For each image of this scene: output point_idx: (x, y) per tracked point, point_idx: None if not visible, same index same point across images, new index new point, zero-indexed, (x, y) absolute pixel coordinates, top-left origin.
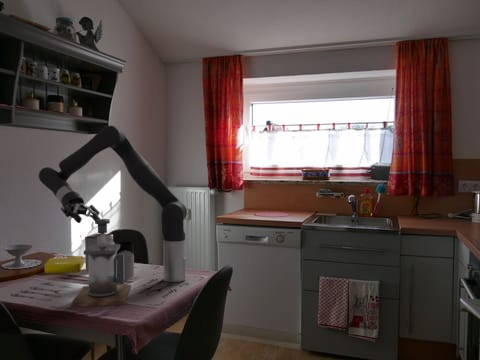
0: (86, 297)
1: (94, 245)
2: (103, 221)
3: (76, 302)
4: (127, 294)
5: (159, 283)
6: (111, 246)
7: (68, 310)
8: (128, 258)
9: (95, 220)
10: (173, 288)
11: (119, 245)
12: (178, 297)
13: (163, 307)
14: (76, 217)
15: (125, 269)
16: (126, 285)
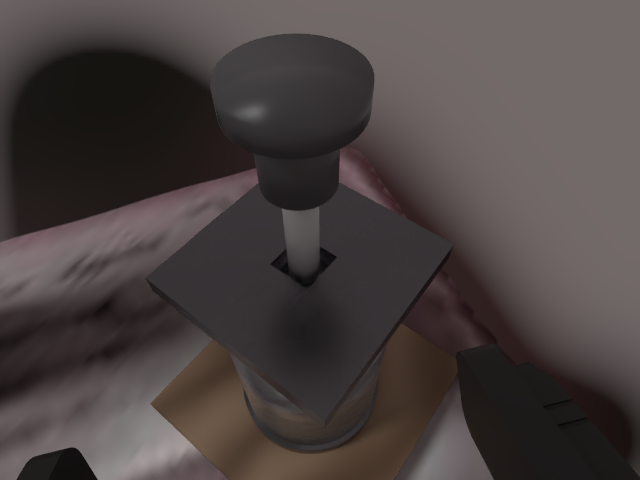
0: (392, 379)
1: (313, 363)
2: (318, 40)
3: (445, 351)
4: None
5: (24, 379)
6: (241, 250)
7: (477, 342)
8: None
9: (368, 85)
10: (59, 285)
11: (171, 259)
12: (135, 210)
13: (229, 180)
14: (568, 400)
15: None
16: (172, 407)
